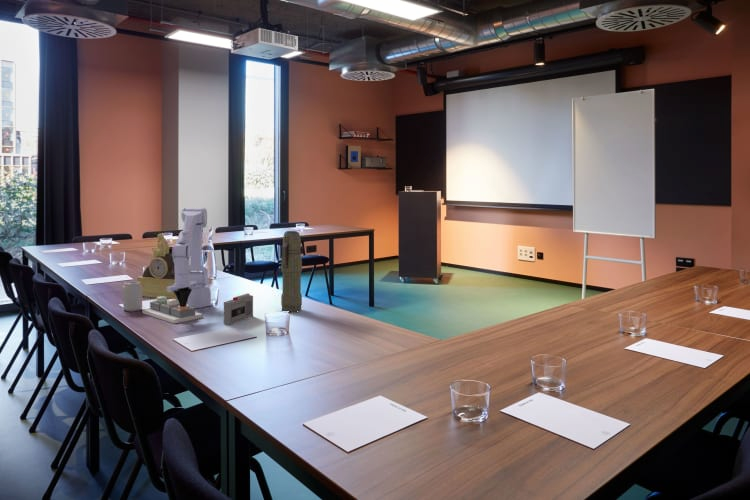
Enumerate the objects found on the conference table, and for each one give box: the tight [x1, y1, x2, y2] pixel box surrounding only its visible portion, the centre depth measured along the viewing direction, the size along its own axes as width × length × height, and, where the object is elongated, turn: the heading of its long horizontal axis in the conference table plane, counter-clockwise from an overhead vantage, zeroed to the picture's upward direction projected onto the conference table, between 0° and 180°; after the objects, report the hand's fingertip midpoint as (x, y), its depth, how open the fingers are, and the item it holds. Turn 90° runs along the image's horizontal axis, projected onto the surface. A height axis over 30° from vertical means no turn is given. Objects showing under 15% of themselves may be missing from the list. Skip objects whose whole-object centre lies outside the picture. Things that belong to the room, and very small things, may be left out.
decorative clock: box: [136, 233, 178, 301], centre depth 263 cm, size 28×13×30 cm, turn 73°
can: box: [122, 280, 143, 312], centre depth 234 cm, size 8×8×12 cm
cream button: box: [167, 299, 178, 307], centre depth 226 cm, size 4×4×3 cm
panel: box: [142, 300, 204, 324], centre depth 226 cm, size 13×24×4 cm, turn 51°
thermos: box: [280, 230, 303, 313], centre depth 237 cm, size 9×12×35 cm
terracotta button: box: [178, 305, 188, 310], centre depth 221 cm, size 4×4×3 cm
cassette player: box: [223, 293, 254, 326], centre depth 220 cm, size 16×3×10 cm, turn 157°
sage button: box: [156, 296, 168, 304], centre depth 231 cm, size 4×4×3 cm
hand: (182, 306), depth 221 cm, fingers closed, pressing on terracotta button
